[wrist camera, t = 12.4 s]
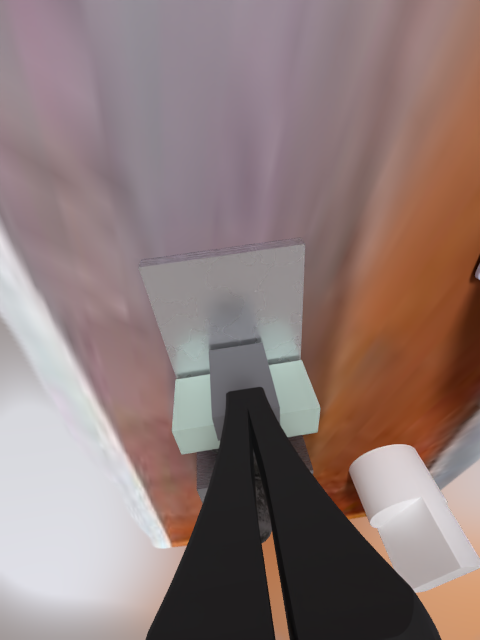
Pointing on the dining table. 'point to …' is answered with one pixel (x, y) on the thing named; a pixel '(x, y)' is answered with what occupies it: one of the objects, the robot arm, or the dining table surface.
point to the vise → (228, 311)
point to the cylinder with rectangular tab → (412, 517)
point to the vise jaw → (235, 374)
